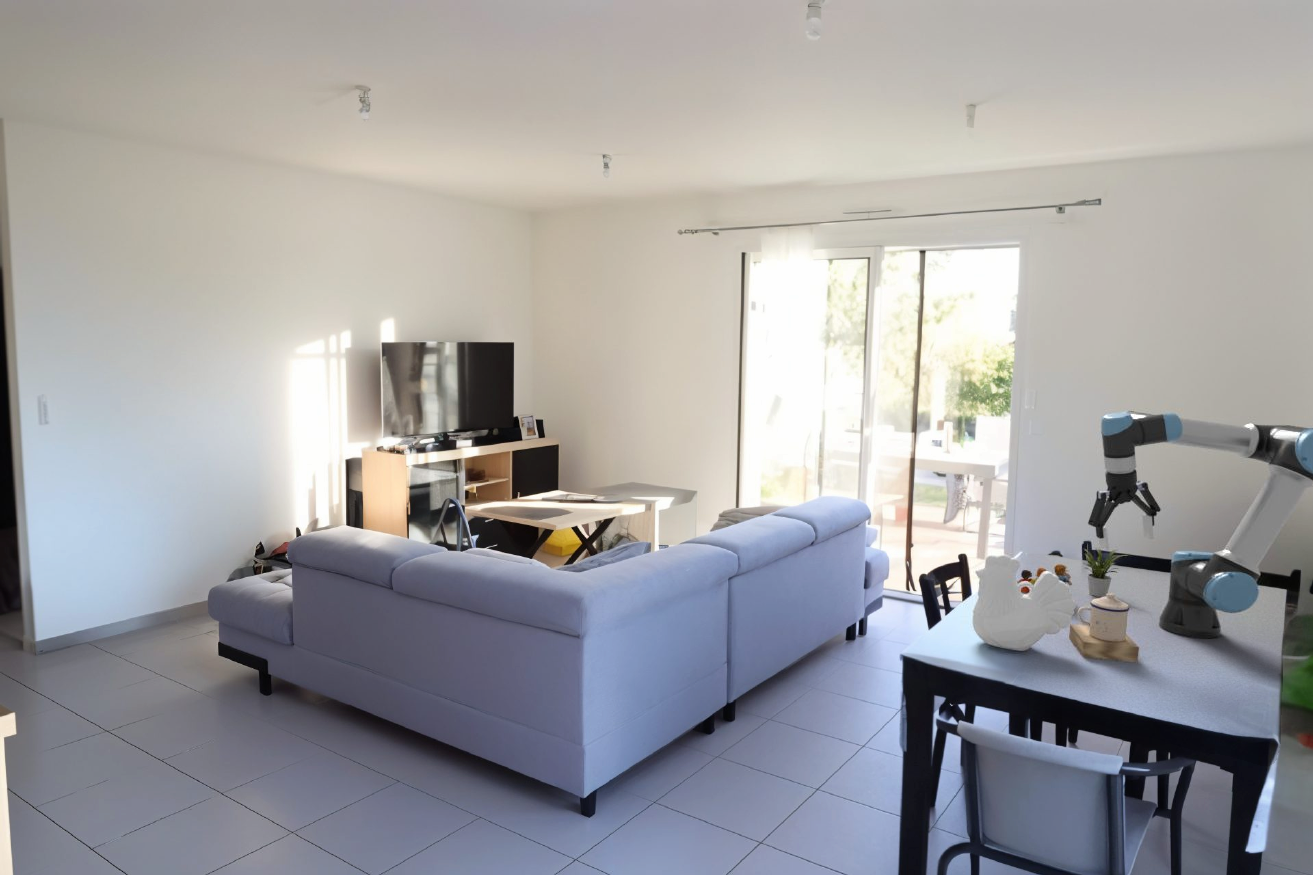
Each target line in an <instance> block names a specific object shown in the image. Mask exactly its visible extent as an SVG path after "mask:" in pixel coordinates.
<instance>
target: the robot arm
mask: <svg viewBox="0 0 1313 875" xmlns="http://www.w3.org/2000/svg"><path fill="white" fill-rule="evenodd" d="M1100 428H1101V431H1100V433H1101V438H1102V448H1103V461H1104V462H1103V463H1104V470H1106V471H1105V472H1104V474H1105V484H1106V486H1107V489H1106V490H1103V491H1101V490H1097V491H1096V499H1095V502H1094V505H1093V508H1092V510H1091V513H1090V516H1089V518H1088V522H1087V524H1088V525H1089V526H1091V527H1094V528H1095V533H1096V538H1098V542H1099V543H1098V544H1099V547H1100V548H1099V549H1101V550H1102V549H1103V550H1105V551H1109V538H1108V527H1107V526H1105V525H1106V524H1107V522H1108V520H1109V518H1110V517H1111V515H1112V514H1113V512H1114V511H1115V509H1116V508H1117V507H1119V505H1122V504H1123V505H1124V504H1126V503H1132V502H1133V503H1134V504H1135V505H1136V506H1137V507H1138V508H1139V509H1140V510H1142V511H1143V512H1144V513H1143V514H1142V526H1143V537H1145V538H1146V539H1150V540H1153V539H1154V529H1153V527H1154V526H1155V517H1156V516H1157V515H1158V512H1159V513H1160V512H1161V510H1162V508H1161V507H1160V506H1159V504H1158V503H1157V500H1156V499H1155V497H1154V496H1153V494H1152V493H1151V490H1149V488H1150V487H1149V484H1148V482H1147V481H1146V482H1145V481H1143V480H1138V474H1137V470H1136V468H1137V460H1136V447H1142V446H1147V445H1153V444H1161V443H1164V444H1172V445H1178V446H1186V447H1194V448H1198V449H1199V448H1200V449H1206V450H1213V451H1222V452H1228V453H1229V452H1230V453H1236V454H1238V455H1239V456H1240V457H1241V458H1246V459H1251V460H1252V459H1253V460H1256V461H1260V462H1263V463H1267V464H1268V465H1267V467H1268V469H1269V472H1270V473H1269V476H1268V477H1267V479H1266V481H1265V482H1264V484H1263V485H1262V487H1261V489H1260V490H1259V492H1258V494H1257V495H1256V497H1255V498H1254V501H1253V502H1252V503H1251V505H1250V506H1249V509H1248V510H1247V511H1246V513H1245V515H1244V516H1243V517H1242V519H1241V521H1240V523H1239V525H1237V528H1236V529H1235V531H1234V533H1233V534H1232V536H1231V537H1230V539H1229V541H1227V544H1226V546H1225V547H1224V548H1223V549H1222V550H1219V551H1214V552H1205V551H1197V550H1177V551H1175V552H1173V553H1172V559H1171V561H1170V566H1171V567H1170V578H1169V591H1168V600H1167V602H1166V604H1165V606H1164V607H1163V610H1162V612H1161V613H1160V616H1159V621H1158V625H1159V626H1160V628H1161V629H1164V630H1166V631H1168V632H1170V633H1174V634H1177V635H1182V636H1186V637H1190V638H1191V637H1193V638H1201V639H1213V638H1215V639H1216V638H1219V637H1220V636H1221V631H1222V629H1221V628H1222V626H1221V623H1220V620H1219V616H1218V613H1217V611H1221V612H1223V613H1228V614H1237V613H1241V612H1245V611H1246V610H1248V609H1250V608H1251V607H1252V606H1253V605H1254V604H1255V603H1257V599H1258V597H1259V593H1260V592H1259V591H1260V590H1259V589H1258V588H1259V586H1258V583H1257V582H1258V579H1259V578H1260V577H1261V571H1260V569H1259V565H1260V564H1261V562H1262V561H1263V559H1264V558H1265V556H1266V554H1267V553H1268V551H1269V549H1270V548H1271V546H1272V545H1273V543H1274V541H1275V540H1276V538H1277V536H1278V534H1280V532H1281V530H1282V528H1283V526H1285V523H1286V522H1287V520H1288V519H1289V517H1290V516H1291V514H1292V512H1293V511H1294V509H1295V508H1296V506H1297V504H1298V503H1299V501H1300V499H1301V498H1302V496H1303V494H1304V493H1305V491H1306V490H1307V489H1309V488H1312V487H1313V427H1303V426H1295V425H1285V424H1283V425H1282V424H1278V425H1277V424H1276V425H1275V424H1274V425H1272V424H1271V425H1268V424H1253V423H1247V424H1245V425H1242V426H1241V425H1234V424H1228V423H1227V424H1226V423H1220V422H1213V421H1207V420H1206V421H1203V420H1198V419H1197V420H1196V419H1191V418H1189V419H1188V418H1183V417H1182V418H1181V417H1179V415H1177V414H1176V413H1174V412H1168V413H1164V412H1163V413H1161V414H1151V413H1144V412H1137V411H1133V410H1128V411H1125V410H1124V411H1122V412H1112V413H1108V414H1105V415H1104V416H1102V418H1101V426H1100ZM1138 491H1139V493H1140V494H1141V495H1142V497H1143V500H1144V501H1143V500H1142V499H1141V497H1140V496H1138V494H1137V492H1138ZM1145 502H1146V503H1145Z"/></svg>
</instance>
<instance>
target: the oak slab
mask: <svg viewBox="0 0 1313 875" xmlns="http://www.w3.org/2000/svg"><path fill="white" fill-rule="evenodd" d="M1068 639H1069V640H1070V642H1071V643H1072V644H1073V646H1074V647H1075V648H1076V649H1077V651H1078V652H1079V654H1080V655H1081V656H1082V657H1083V658H1092V659H1100V658H1102V659H1101V660H1111V661H1112V660H1113V661H1120V660H1123V661H1122V662H1130V663H1131V662H1132V663H1139V650H1140V647H1139V646H1138V645H1137V643H1135V641H1134V640H1133V639H1132V638H1130V636H1129V635H1128V634H1127V633H1126V638H1125V640H1124V641H1121V642H1110V641H1104V640H1100V639H1097V638H1094V637H1092V636H1091V635H1090V634H1089V626H1088V625H1084V624H1083V625H1081V624H1071V623H1070V624H1069V636H1068Z"/></svg>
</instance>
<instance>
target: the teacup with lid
mask: <svg viewBox="0 0 1313 875" xmlns="http://www.w3.org/2000/svg"><path fill="white" fill-rule="evenodd" d="M1129 607H1130V606H1129V605H1128V604H1127V603H1126V602H1123V601H1121V600H1120V599H1118V598H1116V596H1115V594H1114V593H1111V592H1110V593H1109V592H1108V593H1107V594H1106V597H1097V598H1094V599H1092V600H1090V606H1081V607H1080V608H1078V610H1077V619H1078V620H1079V622H1080V623H1082V624H1083V626H1089V634H1090V635H1091V636H1092V637H1094V638H1097V639H1100V640H1104V641H1110V642H1121V641H1124V640H1125V638H1126V634H1127V626H1128V616H1129V615H1128V614H1129V613H1128V612H1129V610H1130V608H1129ZM1084 610H1086V611H1090V615H1089V618H1090V619H1089V622H1087V621H1084V619H1083V618H1082V617H1081V612H1082V611H1084Z"/></svg>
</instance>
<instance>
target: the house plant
mask: <svg viewBox="0 0 1313 875" xmlns="http://www.w3.org/2000/svg"><path fill="white" fill-rule="evenodd" d="M1098 547H1099V548H1097V547H1095V550H1096V552H1097V554H1098V557H1097V559H1096V560H1095V558H1094V555H1092V553H1091V552H1090V551H1088V550H1087V549H1086V548H1082V549H1084V551H1086V553H1085V557H1086V558H1085V559H1086V561H1087V562H1082V564H1083V565H1086V566H1088V567H1090V568H1091V569H1089V568H1088V567H1084V568H1083V569H1085V570H1086V569H1087V570H1088V571H1090V572H1091V573H1088V574H1087V584H1088V595H1090V596H1092V595H1094V596H1093V597H1097V598H1101V597H1106V594H1107V593H1109V589H1110V585H1111V581H1112V578H1113V577H1111V576H1109V575H1108V573H1118V571H1116V570H1119V568H1117V567H1113V568H1111V566H1113V565H1114V564H1115V562H1114V561H1115V560H1116V559H1118V558H1121V557H1123V556H1125V557H1126V556H1129V557H1130V555H1128V554H1122V555H1119V554H1117V555H1116V554H1115V552H1117V551H1118V549H1114V550H1112V551H1110V552H1108V554H1107V555H1106V557H1105V559H1104V558H1103V552H1102V548H1100V546H1098ZM1081 553H1083V554H1084V552H1081ZM1113 554H1115V555H1113ZM1103 559H1104V560H1103Z"/></svg>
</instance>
